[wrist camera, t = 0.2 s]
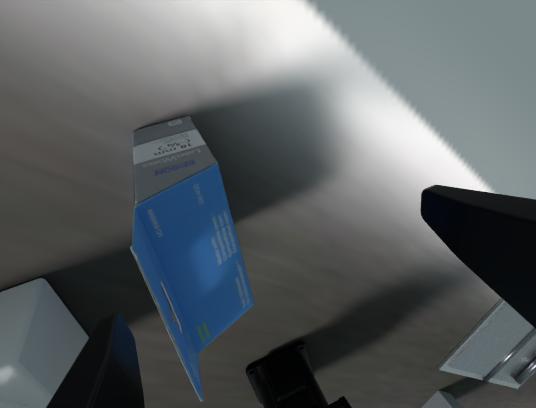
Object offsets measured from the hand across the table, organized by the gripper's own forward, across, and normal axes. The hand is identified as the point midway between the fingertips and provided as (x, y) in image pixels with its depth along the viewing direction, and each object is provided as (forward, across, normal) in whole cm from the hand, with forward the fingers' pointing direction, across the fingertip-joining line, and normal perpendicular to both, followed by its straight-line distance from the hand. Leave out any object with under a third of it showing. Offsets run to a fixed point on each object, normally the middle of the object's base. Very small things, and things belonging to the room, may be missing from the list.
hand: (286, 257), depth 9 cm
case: (+15, -37, +49) cm, 63 cm away
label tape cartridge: (+15, +2, +4) cm, 15 cm away
